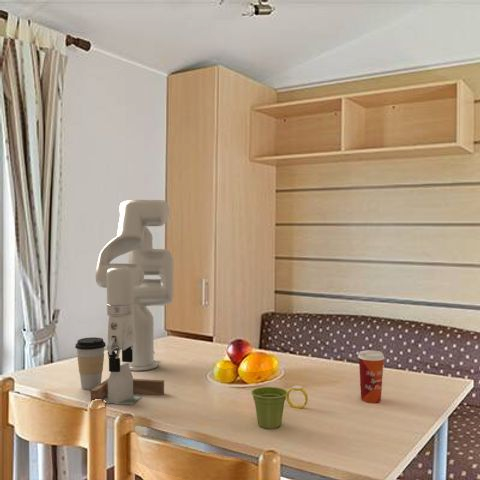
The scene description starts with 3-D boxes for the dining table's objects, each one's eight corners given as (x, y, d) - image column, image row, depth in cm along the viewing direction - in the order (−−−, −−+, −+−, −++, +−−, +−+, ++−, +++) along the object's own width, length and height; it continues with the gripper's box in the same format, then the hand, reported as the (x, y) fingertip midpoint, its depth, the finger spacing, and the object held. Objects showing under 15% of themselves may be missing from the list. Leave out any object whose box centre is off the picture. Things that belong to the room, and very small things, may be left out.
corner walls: (109, 390, 175) (109, 377, 175) (164, 393, 172) (164, 380, 172) (90, 404, 162) (90, 390, 162) (149, 407, 159) (149, 393, 159)
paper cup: (369, 405, 161) (369, 357, 160) (352, 398, 167) (352, 351, 167) (390, 401, 164) (390, 354, 164) (372, 394, 171) (373, 348, 170)
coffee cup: (98, 392, 173) (97, 343, 173) (69, 390, 175) (69, 342, 175) (111, 383, 183) (110, 337, 182) (84, 381, 185) (83, 336, 184)
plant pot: (249, 419, 150) (249, 386, 150) (284, 417, 151) (284, 385, 151) (253, 432, 141) (253, 398, 140) (290, 431, 142) (290, 396, 141)
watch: (308, 408, 160) (309, 387, 159) (305, 411, 157) (306, 390, 157) (288, 403, 162) (289, 383, 162) (284, 406, 160) (286, 386, 159)
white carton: (133, 396, 168) (132, 363, 167) (117, 403, 162) (117, 368, 162) (123, 394, 170) (123, 362, 169) (107, 401, 164) (107, 367, 163)
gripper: (121, 316, 156) (122, 376, 157) (142, 304, 173) (143, 358, 174) (95, 315, 157) (96, 375, 158) (119, 303, 174) (120, 357, 175)
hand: (121, 366), depth 166 cm, fingers open, 9 cm apart
